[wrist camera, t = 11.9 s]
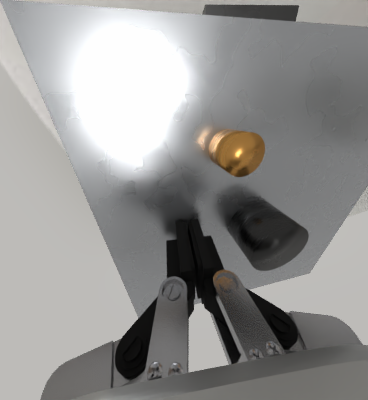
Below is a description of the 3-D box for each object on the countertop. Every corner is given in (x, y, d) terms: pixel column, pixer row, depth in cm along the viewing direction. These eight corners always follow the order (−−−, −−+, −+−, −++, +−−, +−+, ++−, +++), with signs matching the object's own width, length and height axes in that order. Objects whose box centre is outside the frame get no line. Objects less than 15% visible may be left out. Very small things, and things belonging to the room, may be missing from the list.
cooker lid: (423, 45, 9) (613, -3, 6) (299, 263, 21) (334, 296, 17) (32, 25, 6) (-198, -158, 2) (139, 303, 17) (137, 358, 13)
